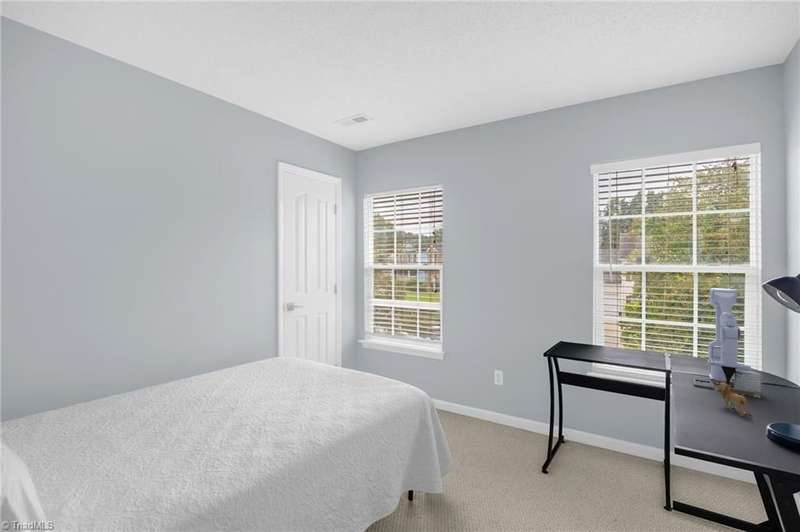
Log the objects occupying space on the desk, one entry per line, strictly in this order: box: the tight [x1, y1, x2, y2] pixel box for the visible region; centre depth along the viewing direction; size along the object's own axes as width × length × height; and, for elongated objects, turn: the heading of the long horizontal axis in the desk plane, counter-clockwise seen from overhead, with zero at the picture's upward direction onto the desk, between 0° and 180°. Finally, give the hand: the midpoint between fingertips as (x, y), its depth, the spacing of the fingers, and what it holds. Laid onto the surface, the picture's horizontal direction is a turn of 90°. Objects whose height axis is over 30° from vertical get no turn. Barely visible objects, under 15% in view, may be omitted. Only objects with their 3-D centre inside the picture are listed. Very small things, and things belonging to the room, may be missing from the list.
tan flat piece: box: [713, 379, 762, 399], centre depth 171 cm, size 14×14×2 cm
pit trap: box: [692, 378, 715, 390], centre depth 177 cm, size 11×7×1 cm, turn 145°
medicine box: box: [733, 370, 762, 393], centre depth 169 cm, size 8×4×9 cm, turn 86°
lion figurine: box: [714, 383, 753, 418], centre depth 145 cm, size 15×5×9 cm, turn 0°
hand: (728, 383), depth 172 cm, fingers closed
